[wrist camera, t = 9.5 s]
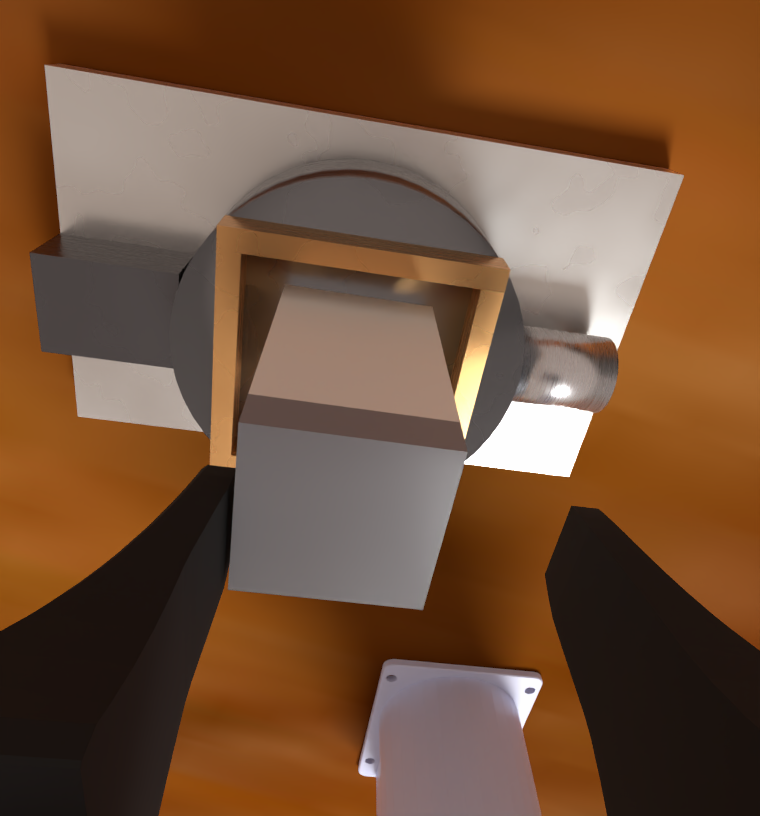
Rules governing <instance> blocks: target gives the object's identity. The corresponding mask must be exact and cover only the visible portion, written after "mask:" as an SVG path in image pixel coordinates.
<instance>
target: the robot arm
mask: <svg viewBox="0 0 760 816" xmlns="http://www.w3.org/2000/svg"><path fill="white" fill-rule="evenodd" d="M235 470H236V468H231V467H222V466H214V465H207V466H205V467H204V468H202V469H201V471H200V472H199V473H198V474H197V476H196V477H195V478H194V479H193V480H192V481H191V483H190V484H189V485H188V486H187V487H186V488H185V489H184V490H183V491H182V493H181V494H180V495H179V496H178V497H177V498H176V499H175V500H174V501H173V502H172V503H171V504H170V505H169V506H168V507H167V508H166V509H165V510H164V511H163V512H162V513H161V514H160V515H159V516H158V517H157V518H156V519H155V520H154V521H153V522H152V523H151V524H150V525H149V526H148V527H147V528H146V529H145V530H144V531H142V532H141V533H140V534H139V535H138V536H137V537H136V538H134V539H133V540H132V541H131V542H130V543H129V544H128V545H127V546H125V547H124V548H123V549H122V550H121V551H120V552H119V553H117V554H116V555H115V556H114V557H112V558H111V559H110V560H109V561H107V562H106V563H105V564H104V565H102V566H101V567H100V568H98V569H97V570H96V571H95V572H93V573H92V574H90V575H89V576H88V577H86V578H85V579H84V580H82V581H81V582H80V583H78V584H77V585H75V586H74V587H72V588H71V589H69V590H68V591H66V592H65V593H63V594H62V595H60V596H59V597H57V598H56V599H54V600H53V601H51V602H50V603H48V604H47V605H45V606H43V607H42V608H40V609H39V610H37V611H35V612H34V613H32V614H30V615H29V616H27V617H25V618H23V619H22V620H20V621H18V622H16V623H14V624H13V625H11V626H9V627H7V628H5V629H4V630H2V631H0V816H158V815H159V810H160V806H161V801H162V797H163V793H164V789H165V784H166V780H167V776H168V771H169V767H170V763H171V759H172V754H173V750H174V746H175V742H176V738H177V733H178V729H179V725H180V721H181V717H182V713H183V709H184V705H185V701H186V698H187V695H188V691H189V688H190V685H191V681H192V678H193V676H194V673H195V670H196V667H197V664H198V661H199V658H200V655H201V653H202V650H203V647H204V644H205V641H206V638H207V635H208V632H209V629H210V627H211V624H212V621H213V618H214V615H215V612H216V609H217V606H218V603H219V600H220V598H221V595H222V592H223V589H224V585H225V581H226V576H227V572H228V568H229V563H230V550H231V534H232V518H233V502H234V486H235ZM545 578H546V584H547V590H548V596H549V602H550V607H551V612H552V617H553V620H554V624H555V627H556V630H557V633H558V636H559V639H560V642H561V646H562V649H563V652H564V655H565V658H566V661H567V664H568V667H569V670H570V673H571V676H572V679H573V682H574V685H575V688H576V691H577V694H578V697H579V700H580V703H581V706H582V709H583V712H584V715H585V718H586V722H587V725H588V729H589V732H590V736H591V740H592V745H593V749H594V754H595V758H596V763H597V767H598V772H599V776H600V781H601V786H602V791H603V796H604V801H605V806H606V812H607V816H760V651H759V650H758V649H757V648H755V647H754V646H753V645H751V644H750V643H749V642H747V641H746V640H745V639H743V638H742V637H741V636H739V635H738V634H737V633H735V632H734V631H733V630H731V629H730V628H729V627H728V626H726V625H725V624H724V623H723V622H721V621H720V620H719V619H718V618H716V617H715V616H714V615H713V614H711V613H710V612H709V611H708V610H707V609H706V608H705V607H703V606H702V605H701V604H700V603H699V602H698V601H696V600H695V599H694V598H693V597H692V596H691V595H689V594H688V593H687V592H686V591H685V590H684V589H683V588H682V587H681V586H679V585H678V584H677V583H676V582H675V581H674V580H673V579H672V578H671V577H670V576H669V575H667V574H666V573H665V572H664V571H663V570H662V569H661V568H660V567H659V566H658V565H657V564H656V563H655V562H654V561H653V560H652V559H651V558H650V557H649V556H648V555H646V554H645V553H644V552H643V551H642V550H641V549H640V548H639V547H638V546H637V545H636V544H635V543H634V542H633V541H632V540H631V539H630V538H629V537H628V536H627V535H626V534H625V533H624V532H623V531H622V530H621V529H620V528H619V527H618V526H617V525H616V524H615V523H614V522H612V521H611V520H610V519H609V518H608V517H607V516H606V515H605V514H604V513H603V512H601V511H600V510H599V509H595V508H586V507H577V506H571V508H570V511H569V513H568V516H567V519H566V521H565V524H564V526H563V529H562V532H561V534H560V537H559V539H558V542H557V545H556V547H555V550H554V552H553V555H552V558H551V560H550V563H549V565H548V568H547V571H546V573H545ZM389 675H393V676H389ZM542 683H543V681H542V678H541V675H540V674H539V673H537V672H531V671H520V670H509V669H499V668H488V667H477V666H466V665H455V664H444V663H433V662H422V661H411V660H400V659H390V660H387V661H385V662H384V664H383V666H382V670H381V675H380V679H379V683H378V687H377V691H376V695H375V699H374V703H373V707H372V711H371V715H370V719H369V723H368V728H367V732H366V736H365V740H364V744H363V748H362V752H361V756H360V760H359V764H358V772H359V773H360V774H361V775H363V776H371V777H376V803H377V816H541V811H540V807H539V802H538V798H537V793H536V789H535V784H534V780H533V776H532V771H531V767H530V762H529V758H528V753H527V749H526V744H525V740H524V735H523V731H522V728H523V726H524V724H525V722H526V719H527V717H528V715H529V713H530V710H531V708H532V706H533V704H534V702H535V699H536V697H537V695H538V693H539V690H540V688H541V686H542ZM529 687H530V688H529Z"/></svg>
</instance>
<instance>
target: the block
mask: <svg viewBox="0 0 760 816" xmlns="http://www.w3.org/2000/svg"><path fill="white" fill-rule="evenodd" d="M467 453H468V451H467V447H466V443H465V439H464V435H463V431H462V427H461V422H460V418H459V414H458V410H457V406H456V402H455V398H454V394H453V390H452V385H451V381H450V377H449V373H448V369H447V365H446V361H445V357H444V353H443V348H442V344H441V340H440V336H439V332H438V328H437V324H436V320H435V316H434V311H433V307H431V306H424V305H418V304H411V303H405V302H398V301H392V300H385V299H378V298H372V297H365V296H359V295H352V294H346V293H339V292H332V291H326V290H319V289H313V288H306V287H300V286H293V285H286V284H285V286H284V289H283V292H282V295H281V298H280V301H279V304H278V307H277V310H276V313H275V316H274V319H273V322H272V325H271V328H270V331H269V333H268V336H267V339H266V342H265V345H264V348H263V351H262V354H261V357H260V360H259V363H258V366H257V369H256V372H255V375H254V378H253V381H252V384H251V387H250V390H249V393H248V396H247V399H246V402H245V405H244V408H243V411H242V413H241V416H240V419H239V423H238V438H237V454H236V470H235V486H234V502H233V518H232V534H231V550H230V566H229V582H228V590H236V591H246V592H255V593H265V594H275V595H284V596H294V597H304V598H313V599H323V600H332V601H342V602H352V603H361V604H371V605H380V606H390V607H400V608H409V609H419V610H423V607H424V604H425V600H426V597H427V593H428V590H429V586H430V583H431V579H432V576H433V572H434V569H435V565H436V562H437V558H438V555H439V551H440V548H441V544H442V541H443V537H444V534H445V530H446V527H447V523H448V520H449V516H450V513H451V509H452V505H453V502H454V498H455V495H456V491H457V488H458V484H459V481H460V477H461V474H462V470H463V467H464V463H465V460H466V456H467Z"/></svg>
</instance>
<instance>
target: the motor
mask: <svg viewBox="0 0 760 816" xmlns="http://www.w3.org/2000/svg"><path fill="white" fill-rule="evenodd" d="M45 75H46V86H47V96H48V107H49V117H50V128H51V138H52V149H53V159H54V170H55V180H56V191H57V202H58V212H59V223H60V234H58V235H57V236H55V237H54V238H52V239H50V240H49V241H47V242H46V243H44V244H43V245H41V246H39V247H38V248H36V249H35V250H33V251H31V252H30V260H31V268H32V276H33V284H34V293H35V301H36V309H37V317H38V326H39V334H40V342H41V350H42V351H43V352H51V353H58V354H66V355H72V360H73V370H74V381H75V391H76V402H77V412H78V417H86V418H94V419H103V420H111V421H119V422H127V423H135V424H143V425H152V426H160V427H168V428H176V429H184V430H192V431H201V432H204V433H205V434H206V436H207V437H208V438H209V439H210V440H211V441H210V465H214V466H222V467H231V468H236V454H237V438H238V423H239V419H240V416H241V413H242V411H243V408H244V405H245V402H246V399H247V396H248V393H249V390H250V387H251V384H252V381H253V378H254V375H255V372H256V369H257V366H258V363H259V360H260V357H261V354H262V351H263V348H264V345H265V342H266V339H267V336H268V333H269V331H270V328H271V325H272V322H273V319H274V316H275V313H276V310H277V307H278V304H279V301H280V298H281V295H282V292H283V289H284V286H285V284H286V285H293V286H300V287H306V288H313V289H319V290H326V291H332V292H339V293H346V294H352V295H359V296H365V297H372V298H378V299H385V300H392V301H398V302H405V303H411V304H418V305H424V306H431V307H433V311H434V316H435V320H436V324H437V328H438V332H439V336H440V340H441V344H442V348H443V353H444V357H445V361H446V365H447V369H448V373H449V377H450V381H451V385H452V390H453V394H454V398H455V402H456V406H457V410H458V414H459V418H460V422H461V427H462V431H463V435H464V439H465V443H466V447H467V451H468V453H467V456H466V460H465V463H464V464H470V465H478V466H486V467H494V468H503V469H511V470H519V471H527V472H535V473H543V474H552V475H560V476H568V477H569V475H570V472H571V469H572V467H573V464H574V462H575V459H576V456H577V454H578V451H579V449H580V446H581V443H582V441H583V438H584V435H585V433H586V430H587V428H588V425H589V422H590V420H591V417H592V415H593V412H594V413H596V412H600V411H601V410H602V409H603V408H604V407H605V406H606V405H607V403H608V402H609V400H610V398H611V396H612V394H613V391H614V388H615V384H616V380H617V374H618V353H617V349H618V347H619V344H620V342H621V339H622V336H623V334H624V331H625V328H626V326H627V323H628V321H629V318H630V315H631V313H632V310H633V308H634V305H635V302H636V300H637V297H638V295H639V292H640V289H641V287H642V284H643V281H644V279H645V276H646V274H647V271H648V268H649V266H650V263H651V261H652V258H653V255H654V253H655V250H656V248H657V245H658V242H659V240H660V237H661V234H662V232H663V229H664V227H665V224H666V221H667V219H668V216H669V214H670V211H671V208H672V206H673V203H674V201H675V198H676V195H677V193H678V190H679V188H680V185H681V182H682V180H683V177H684V175H683V174H680V173H678V172H676V171H673V170H671V169H666V168H660V167H655V166H649V165H643V164H637V163H632V162H626V161H620V160H614V159H609V158H603V157H597V156H591V155H585V154H580V153H574V152H568V151H562V150H557V149H551V148H545V147H539V146H533V145H528V144H522V143H516V142H510V141H505V140H499V139H493V138H487V137H481V136H476V135H470V134H464V133H458V132H453V131H447V130H441V129H435V128H429V127H424V126H418V125H412V124H406V123H401V122H395V121H389V120H383V119H377V118H372V117H366V116H360V115H354V114H349V113H343V112H337V111H331V110H325V109H320V108H314V107H308V106H302V105H297V104H291V103H285V102H279V101H273V100H268V99H262V98H256V97H250V96H245V95H239V94H233V93H227V92H221V91H216V90H210V89H204V88H198V87H193V86H187V85H181V84H175V83H169V82H164V81H158V80H152V79H146V78H141V77H135V76H129V75H123V74H118V73H112V72H106V71H100V70H94V69H89V68H83V67H77V66H71V65H66V64H49V65H45Z"/></svg>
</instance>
